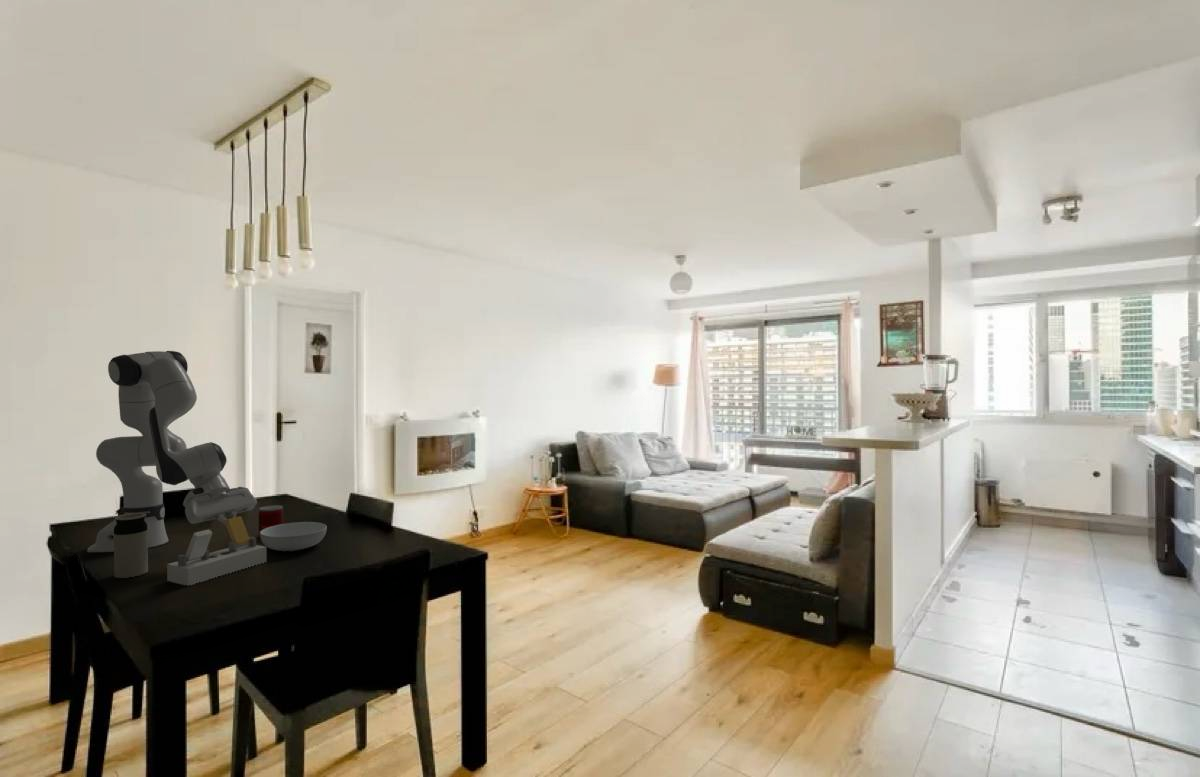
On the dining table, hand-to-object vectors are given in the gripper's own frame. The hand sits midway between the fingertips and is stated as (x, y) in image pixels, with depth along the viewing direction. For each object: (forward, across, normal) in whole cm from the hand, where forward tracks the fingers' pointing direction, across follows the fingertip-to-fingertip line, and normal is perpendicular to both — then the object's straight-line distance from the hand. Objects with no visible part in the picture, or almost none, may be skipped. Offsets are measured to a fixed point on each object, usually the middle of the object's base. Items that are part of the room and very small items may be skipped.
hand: (232, 525), depth 190 cm
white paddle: (+8, +15, +2) cm, 17 cm away
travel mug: (-2, +23, -17) cm, 29 cm away
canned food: (-4, -24, -24) cm, 34 cm away
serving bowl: (+11, -19, -8) cm, 23 cm away
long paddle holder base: (+13, +8, -4) cm, 15 cm away
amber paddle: (+8, 0, 0) cm, 8 cm away
